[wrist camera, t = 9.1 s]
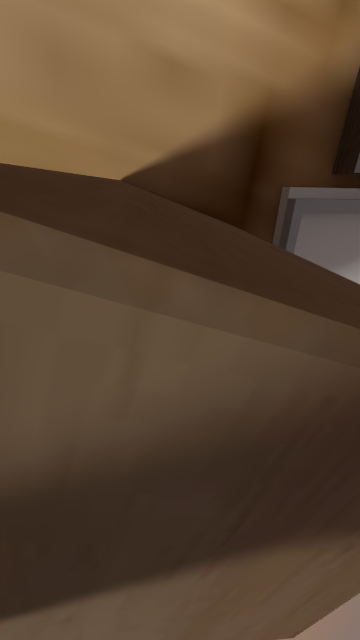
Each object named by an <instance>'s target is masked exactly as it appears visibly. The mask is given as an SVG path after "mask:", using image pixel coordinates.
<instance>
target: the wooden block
mask: <svg viewBox="0 0 360 640" xmlns="http://www.w3.org/2000/svg"><path fill="white" fill-rule="evenodd" d="M358 593H360V284H358V283H356V282H354V281H351V280H349V279H347V278H345V277H343V276H341V275H338V274H336V273H334V272H332V271H330V270H328V269H325V268H323V267H321V266H319V265H317V264H315V263H312V262H310V261H308V260H306V259H304V258H302V257H300V256H297V255H295V254H293V253H291V252H289V251H287V250H284V249H282V248H280V247H278V246H276V245H274V244H271V243H269V242H267V241H265V240H263V239H261V238H259V237H256V236H254V235H252V234H250V233H248V232H246V231H243V230H241V229H239V228H237V227H235V226H233V225H230V224H228V223H225V222H223V221H220V220H218V219H215V218H213V217H210V216H208V215H205V214H203V213H201V212H198V211H196V210H193V209H191V208H188V207H186V206H183V205H181V204H178V203H176V202H173V201H171V200H168V199H166V198H163V197H161V196H158V195H156V194H153V193H151V192H148V191H146V190H143V189H141V188H138V187H136V186H133V185H131V184H128V183H126V182H123V181H120V180H113V179H107V178H100V177H93V176H86V175H79V174H72V173H65V172H58V171H51V170H44V169H37V168H31V167H24V166H17V165H10V164H3V163H0V640H277V639H285V638H286V639H287V638H294V637H295V636H297V635H298V634H300V633H301V632H303V631H304V630H306V629H307V628H309V627H310V626H312V625H313V624H315V623H316V622H318V621H319V620H320V619H322V618H323V617H325V616H326V615H328V614H329V613H331V612H332V611H334V610H335V609H337V608H338V607H339V606H341V605H343V604H344V603H345V602H347V601H348V600H350V599H351V598H353V597H354V596H356V595H357V594H358Z"/></svg>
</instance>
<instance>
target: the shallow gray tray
mask: <svg viewBox="0 0 360 640" xmlns="http://www.w3.org/2000/svg"><path fill="white" fill-rule="evenodd" d="M272 244H274V245H276V246H278V247H280V248H282V249H284V250H287V251H289V252H291V253H293V254H295V255H297V256H300V257H302V258H304V259H306V260H308V261H310V262H312V263H315V264H317V265H319V266H321V267H323V268H325V269H328V270H330V271H332V272H334V273H336V274H338V275H341V276H343V277H345V278H347V279H349V280H351V281H354V282H356V283H358V284H360V188H311V187H282V193H281V198H280V204H279V209H278V215H277V221H276V226H275V232H274V237H273V243H272Z"/></svg>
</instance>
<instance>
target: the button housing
mask: <svg viewBox="0 0 360 640" xmlns="http://www.w3.org/2000/svg"><path fill="white" fill-rule="evenodd" d="M332 174H360V68H359V71H358V75H357V79H356V83H355V87H354V91H353V95H352V99H351V103H350V107H349V111H348V115H347V118H346V122H345V126H344V130H343V134H342V138H341V142H340V146H339V150H338V154H337V158H336V161H335V165H334V169H333V173H332Z"/></svg>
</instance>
